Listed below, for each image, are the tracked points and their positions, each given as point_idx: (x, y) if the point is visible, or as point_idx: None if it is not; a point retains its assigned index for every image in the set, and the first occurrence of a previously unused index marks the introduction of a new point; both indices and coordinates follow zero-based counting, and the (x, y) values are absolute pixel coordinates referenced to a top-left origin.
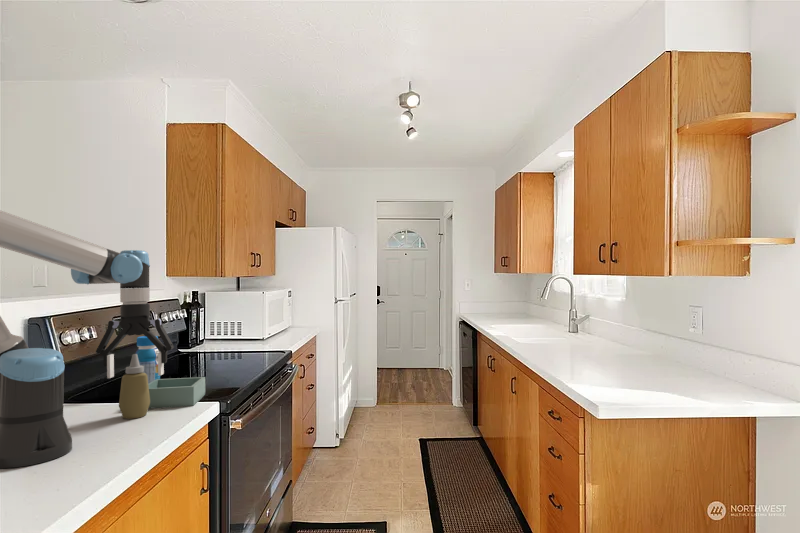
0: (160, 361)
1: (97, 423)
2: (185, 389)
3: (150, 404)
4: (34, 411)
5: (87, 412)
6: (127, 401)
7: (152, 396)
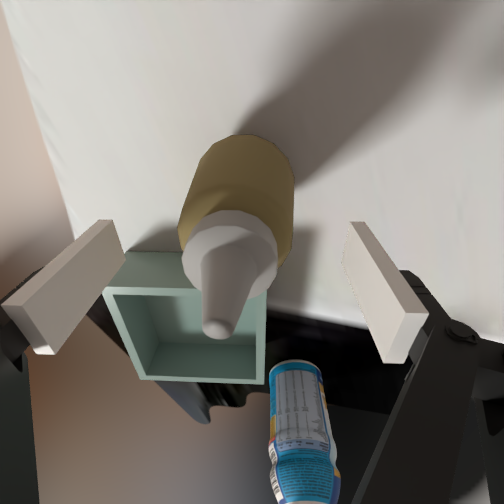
0: (51, 263)
1: (341, 111)
2: (127, 281)
3: None
4: None
5: (397, 252)
6: (250, 142)
7: None
